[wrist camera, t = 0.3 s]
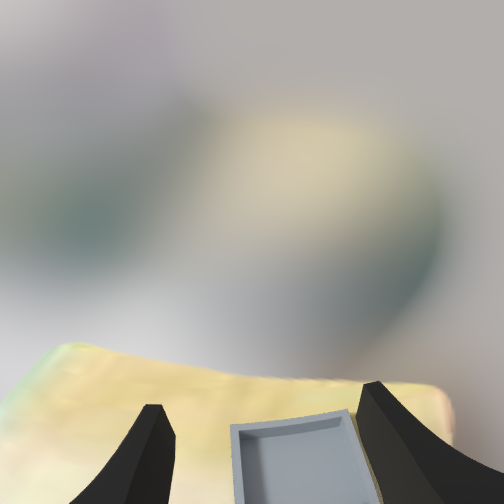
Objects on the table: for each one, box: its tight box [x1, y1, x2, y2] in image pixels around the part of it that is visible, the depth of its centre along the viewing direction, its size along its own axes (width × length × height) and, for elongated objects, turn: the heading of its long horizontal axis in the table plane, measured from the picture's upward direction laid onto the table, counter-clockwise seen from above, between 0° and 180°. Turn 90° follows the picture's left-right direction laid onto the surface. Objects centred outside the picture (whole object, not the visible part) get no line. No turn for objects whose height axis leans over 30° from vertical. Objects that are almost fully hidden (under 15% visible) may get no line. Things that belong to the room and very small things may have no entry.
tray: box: [230, 409, 380, 504], centre depth 24 cm, size 12×12×2 cm
